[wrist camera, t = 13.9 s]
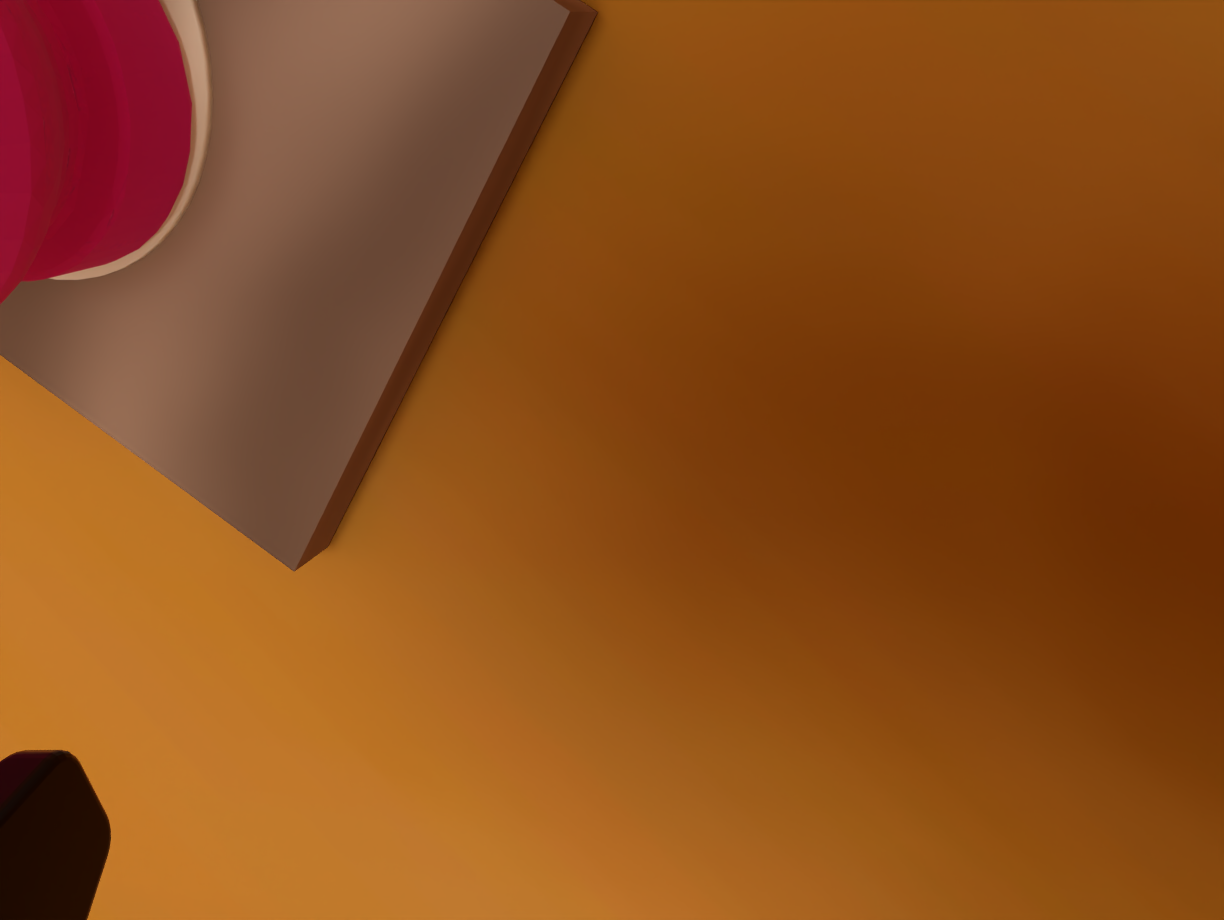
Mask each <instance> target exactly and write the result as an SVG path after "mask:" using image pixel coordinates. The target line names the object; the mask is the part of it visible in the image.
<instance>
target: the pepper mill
mask: <svg viewBox="0 0 1224 920" xmlns="http://www.w3.org/2000/svg"><path fill="white" fill-rule="evenodd" d="M191 117H192V101H191V97H190V92H189V87H188V83H187V78H186V73H185V68H184V64H183V59H182V54H181V50H180V45H179V42H178V40H177V37H176V35H175V33H174V31H173V29H172V27H171V25H170V23H169V21H168V18H167V16H166V14H165V12H164V10H163V8H162V6H161V4H160V2H159V0H0V304H1V303H2V302H3V301H4V300H5V299H6V298H7V297H8V296H9V294H10V293H11V292H12V291H13V290H14V289H15V288H16V287H17V285H18V284H19V283H20V282H21V281H28V282H29V281H36V280H43V279H47V278H52V277H56V276H60V275H64V274H68V273H72V272H76V271H81V270H85V269H89V268H93V267H97V266H101V265H105V264H108V263H111V262H113V261H116V260H118V259H120V258H122V257H124V256H126V255H128V254H130V253H132V252H134V251H136V250H138V249H139V248H140V247H141V246H143V245H144V244H145V243H146V242H147V241H148V240H149V239H150V238H151V237H152V236H153V235H154V234H156V233H157V231H158V230H159V229H160V227H161V226H162V225H163V223H164V222H165V220H166V218H167V217H168V215H169V214H170V212H171V209H172V207H173V205H174V203H175V201H176V199H177V197H178V195H179V193H180V190H181V188H182V186H183V183H184V179H185V174H186V169H187V164H188V160H189V155H190V143H191Z"/></svg>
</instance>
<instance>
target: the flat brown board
mask: <svg viewBox="0 0 1224 920" xmlns="http://www.w3.org/2000/svg"><path fill="white" fill-rule="evenodd" d="M159 2H160V4H161V6H162V8H163V10H164V12H165V14H166V16H167V18H168V21H169V23H170V25H171V27H172V29H173V31H174V33H175V35H176V37H177V40H178V42H179V45H180V50H181V54H182V59H183V64H184V68H185V73H186V78H187V83H188V87H189V92H190V97H191V101H192V117H191V143H190V155H189V160H188V164H187V169H186V174H185V179H184V183H183V186H182V188H181V190H180V193H179V195H178V197H177V199H176V201H175V203H174V205H173V207H172V209H171V212H170V214H169V215H168V217H167V218H166V220H165V222H164V223H163V225H162V226H161V227H160V229H159V230H158V231H157V233H156V234H154V235H153V236H152V237H151V238H150V239H149V240H148V241H147V242H146V243H145V244H144V245H143V246H141V247H140V248H139V249H138V250H136V251H134V252H132V253H130V254H128V255H126V256H124V257H122V258H120V259H118V260H116V261H113V262H111V263H108V264H105V265H101V266H97V267H93V268H89V269H85V270H81V271H76V272H72V273H68V274H64V275H60V276H56V277H52V278H47V279H43V280H36V281H29V282H28V281H21V282H20V283H19V284H18V285H17V287H16V288H15V289H14V290H13V291H12V292H11V293H10V294H9V296H8V297H7V298H6V299H5V300H4V301H3V302H2V303H1V304H0V355H1V356H3V357H4V358H5V359H7V360H8V361H9V362H11V363H12V364H13V365H15V366H16V367H17V368H19V369H20V370H21V371H23V372H24V373H26V374H27V375H28V376H30V377H31V378H32V379H34V380H35V381H36V382H38V383H39V384H40V385H42V386H43V387H45V388H46V389H47V390H49V391H50V392H51V393H53V394H54V395H55V396H57V397H58V398H59V399H61V400H62V401H64V402H65V403H66V404H68V405H69V406H70V407H72V408H73V409H74V410H76V411H77V412H78V413H80V414H81V415H83V416H84V417H85V418H87V419H88V420H89V421H91V422H92V423H93V424H95V425H96V426H97V427H99V428H100V429H101V430H103V431H104V432H106V433H107V434H108V435H110V436H111V437H112V438H114V439H115V440H116V441H118V442H119V443H120V444H122V445H123V446H125V447H126V448H127V449H129V450H130V451H131V452H133V453H134V454H135V455H137V456H138V457H139V458H141V459H142V460H144V461H145V462H146V463H148V464H149V465H150V466H152V467H153V468H154V469H156V470H157V471H158V472H160V473H161V474H162V475H164V476H165V477H167V478H168V479H169V480H171V481H172V482H173V483H175V484H176V485H177V486H179V487H180V488H181V489H183V490H184V491H186V492H187V493H188V494H190V495H191V496H192V497H194V498H195V499H196V500H198V501H199V502H200V503H202V504H203V505H205V506H206V507H207V508H209V509H210V510H211V511H213V512H214V513H215V514H217V515H218V516H219V517H221V518H222V519H224V520H225V521H226V522H228V523H229V524H230V525H232V526H233V527H234V528H236V529H237V530H238V531H240V532H241V533H242V534H244V535H245V536H247V537H248V538H249V539H251V540H252V541H253V542H255V543H256V544H257V545H259V546H260V547H261V548H263V549H264V550H266V551H267V552H268V553H270V554H271V555H272V556H274V557H275V558H276V559H278V560H279V561H280V562H282V563H283V564H285V565H286V566H287V567H289V568H290V569H291V570H293V571H296V570H297V569H299V568H300V567H301V566H303V565H304V564H305V563H307V562H308V561H309V560H311V559H312V558H313V557H315V556H316V555H318V554H319V553H320V552H322V551H323V550H324V549H326V548H327V547H328V545H329V543H330V541H331V539H332V537H333V535H334V533H335V531H336V529H337V527H338V525H339V524H340V522H341V520H342V518H343V516H344V514H345V512H346V510H347V508H348V506H349V504H350V502H351V500H352V498H353V496H354V494H355V492H356V490H357V488H358V486H359V484H360V482H361V480H362V478H363V476H364V474H365V472H366V470H367V468H368V466H369V464H370V462H371V460H372V458H373V456H374V454H375V452H376V450H377V448H378V446H379V444H380V442H381V440H382V438H383V436H384V434H385V432H386V430H387V428H388V426H389V425H390V423H391V421H392V419H393V417H394V415H395V413H396V411H397V409H398V407H399V405H400V403H401V401H402V399H403V397H404V395H405V393H406V391H407V389H408V387H409V385H410V383H411V381H412V379H413V377H414V375H415V373H416V371H417V369H418V367H419V365H420V363H421V361H422V359H423V357H424V355H425V353H426V351H427V349H428V347H429V345H430V343H431V341H432V339H433V337H434V335H435V333H436V331H437V329H438V327H439V326H440V324H441V322H442V320H443V318H444V316H445V314H446V312H447V310H448V308H449V306H450V304H451V302H452V300H453V298H454V296H455V294H456V292H457V290H458V288H459V286H460V284H461V282H462V280H463V278H464V276H465V274H466V272H467V270H468V268H469V266H470V264H471V262H472V260H473V258H474V256H475V254H476V252H477V250H478V248H479V246H480V244H481V242H482V240H483V238H484V236H485V234H486V232H487V230H488V229H489V227H490V225H491V223H492V221H493V219H494V217H495V215H496V213H497V211H498V209H499V207H500V205H501V203H502V201H503V199H504V197H505V195H506V193H507V191H508V189H509V187H510V185H511V183H512V181H513V179H514V177H515V175H516V173H517V171H518V169H519V167H520V165H521V163H522V161H523V159H524V157H525V155H526V153H527V151H528V149H529V147H530V145H531V143H532V141H533V139H534V137H535V135H536V133H537V131H538V130H539V128H540V126H541V124H542V122H543V120H544V118H545V116H546V114H547V112H548V110H549V108H550V106H551V104H552V102H553V100H554V98H555V96H556V94H557V92H558V90H559V88H560V86H561V84H562V82H563V80H564V78H565V76H566V74H567V72H568V70H569V68H570V66H571V64H572V62H573V60H574V58H575V56H576V54H577V52H578V50H579V48H580V46H581V44H582V42H583V40H584V38H585V36H586V34H587V32H588V31H589V29H590V27H591V25H592V23H593V21H594V19H595V17H596V15H597V13H598V12H597V11H595V10H594V9H592V8H591V7H589V6H588V5H586V4H585V3H583V2H582V1H580V0H159Z"/></svg>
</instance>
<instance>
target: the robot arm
mask: <svg viewBox="0 0 1224 920" xmlns="http://www.w3.org/2000/svg"><path fill="white" fill-rule="evenodd" d="M110 841H111V829H110V823H109V819H108V817H107V814H106V812H105V810H104V808H103V806H102V805H101V803H100V801H99V799H98V797H97V795H96V793H95V791H94V789H93V787H92V785H91V783H90V781H89V779H88V777H87V775H86V773H85V771H84V769H83V768H82V766H81V764H80V762H79V761H78V759H77V758H76V757H75V756H74V755H72V754H71V753H70V752H68V751H63V750H25V751H20V752H16V753H14V754H11V755H10V756H8V757H6V758H5V759H3V760H2V761H0V920H87V918H88V915H89V912H90V909H91V906H92V903H93V900H94V897H95V893H96V890H97V887H98V884H99V881H100V878H101V875H102V872H103V869H104V865H105V862H106V859H107V856H108V852H109V848H110Z"/></svg>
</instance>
